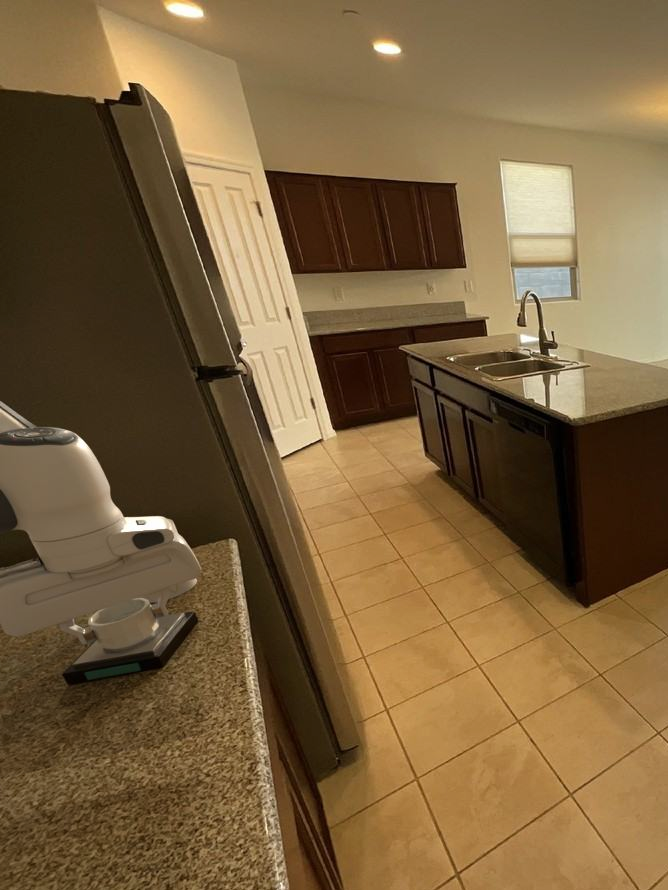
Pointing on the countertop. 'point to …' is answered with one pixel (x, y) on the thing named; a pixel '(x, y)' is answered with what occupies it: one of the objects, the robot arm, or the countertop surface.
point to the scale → (133, 652)
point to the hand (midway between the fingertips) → (127, 627)
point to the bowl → (123, 624)
